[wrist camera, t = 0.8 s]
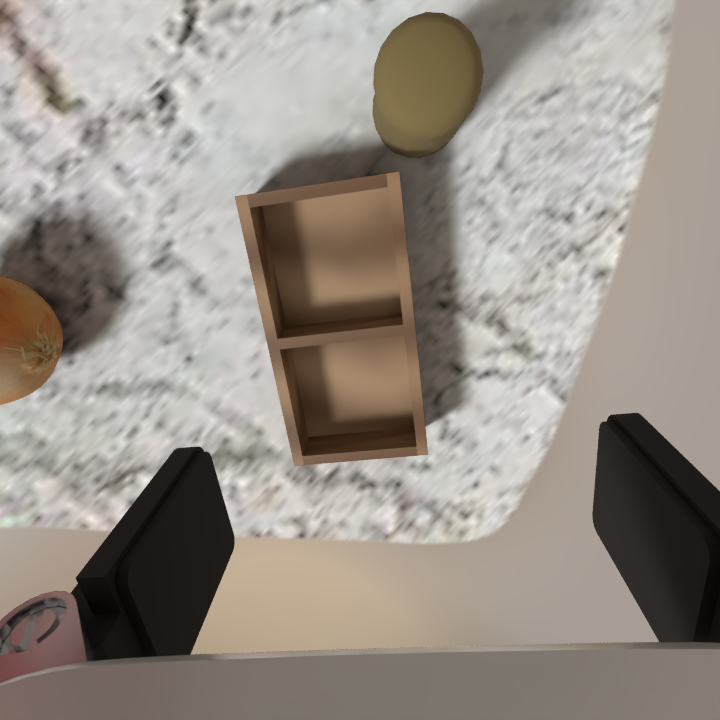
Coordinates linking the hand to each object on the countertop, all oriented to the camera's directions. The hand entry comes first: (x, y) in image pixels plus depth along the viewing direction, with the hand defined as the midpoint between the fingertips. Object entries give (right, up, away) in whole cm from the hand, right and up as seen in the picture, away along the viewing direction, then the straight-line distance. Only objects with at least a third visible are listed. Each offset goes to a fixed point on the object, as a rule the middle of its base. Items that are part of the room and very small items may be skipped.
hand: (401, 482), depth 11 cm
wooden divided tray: (-2, +6, +25) cm, 26 cm away
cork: (+3, +20, +20) cm, 28 cm away
